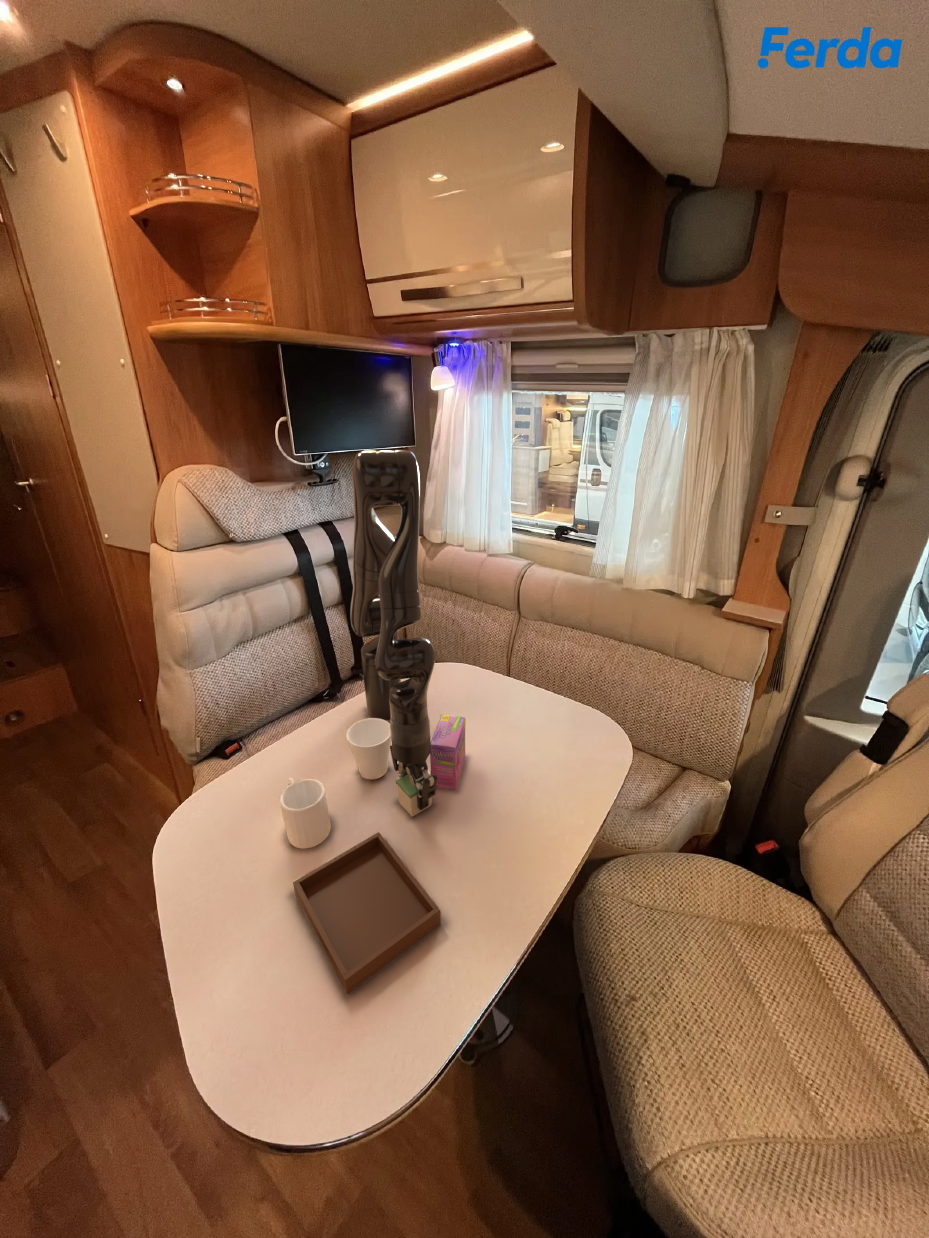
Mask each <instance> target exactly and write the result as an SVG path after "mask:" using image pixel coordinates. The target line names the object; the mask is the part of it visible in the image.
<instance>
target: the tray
mask: <svg viewBox="0 0 929 1238" xmlns="http://www.w3.org/2000/svg"><path fill="white" fill-rule="evenodd" d="M292 886H293V890H294V895H295V897H296V899H297V900H298V903H299V904H300V906H301V908H302V910H303V912H304V914H305V916H306V918H307V920H308V922H309V924H310V926H311V927H312V929H313V931H314V933H315V935H316V937H317V939H318V941H319V943H320V944H321V945H320V946H321V947H322V949H323V950H324V953H325V955H326V956H327V959H328V960H329V962H330V963H331V965H332V968H333V970H334V972H335V973H336V975H337V977H338V979H339V981H340V983H341V985H342V987H343V989H344V991H345V993H346V994H348V995H349V994H350V993H351V992H352V991H353V990H355V989H356V988H357V987H359V986H360V985H361V984H363V983H364V982H366V980H368V979H369V978H371V977H372V976H373V975H375V974H376V973H377V972H378V971H380V970H381V969H382V968H384V967H386V966H387V965H388V964H389V963H390V962H392V961H393V960H394V959H396V958H397V957H398V956H400V955H401V954H402V953H404V952H405V951H407V950H408V949H409V948H410V947H412V946H413V945H414V944H415V943H417V942H418V941H419V940H421V939H422V938H423V937H425V936H426V935H427V934H429V933H430V932H431V931H433V930H434V929H435V928H437V927H438V926H439V925H441V924H442V919H441V909H440V908H439V906H438V905H437V904H436V902H434V900H433V899H432V897H431V896H430V895H429V894H428V893H427V891H426V890H425V889H424V887H423V886H422V885H421V883H420V882H419V881H418V880H417V878H416V877H415V876H414V874H413V873H412V872H411V871H410V869H409V868H408V867H407V865H405V863H404V862H403V860H402V859H401V857H399V855H398V854H397V853H396V852H395V850H394V849H393V848H392V846H391V845H390V844H389V843H388V841H387V840H386V839H385V837H384V836H383V835H382V834H381V832H380V831H377V832H376V833H374V834H372V835H371V836H368V837H367V838H366V839H364V840H362V841H361V842H359V843H357V844H356V845H354V846H352V847H351V848H349V849H347V850H345V851H344V852H342V853H340V854H338V855H337V856H335V857H333V858H331V859H330V860H328V861H326V862H325V863H323V864H321V865H320V866H317V867H316V868H313V870H311V871H309V872H308V873H306V874H304V875H302V876H301V877H299V878H297V879H296V880H293V881H292Z"/></svg>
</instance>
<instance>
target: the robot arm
mask: <svg viewBox="0 0 929 1238" xmlns="http://www.w3.org/2000/svg"><path fill="white" fill-rule="evenodd" d="M351 466H352V467H351V484H352V500H353V501H352V502H353V503H352V504H353V515H354V516H353V519H354V526H353V527H354V529H353V531H354V532H353V545H352V580H353V581H352V583H353V586H352V594H351V601H350V611H349V615H350V625H351V629H352V630H353V632H354V633H355V635H356V636H358V637H361V638H368V637H374V636H375V637H374V638H372V639H370V640H368V641H367V642H366V643H365V644H363V645H362V647H361V649H360V656H361V666H362V673H363V683H364V684H363V685H364V692H365V693H364V694H365V701H366V710H367V711H366V712H367V719H368V718H378V719H383V720H385V721H387V722H388V723H390V730H391V741H390V742H391V744H390V749H389V752H390V755H391V756H390V757H391V761H392V764H393V770H394V771H395V772H398V777H399V779H400V778H401V777H403V776H405V775H407V774H409V776H410V780H411V784H412V786H413V787H415V789H416V793H417V804H418V808H419V810H422V809H424V808H426V807H428V806H429V798H431V797H432V798H433V797H434V796H436V794H437V787H436V786H437V776H436V774H433V775H431V772H429V765H428V763H427V760H428V758H429V757H430V752H431V740H432V738H431V724H430V722H431V721H430V718H429V710H428V708H429V707H428V691H429V686H430V682H431V678H432V676H433V673H434V672H433V671H434V669H435V663H436V651H435V648H434V645H433V643H432V642H431V641H430V640H429V639H427V638H425V637H412V638H403V639H402V638H401V639H399V631H400V630H402V629H404V628H406V627H411V626H413V625H414V626H415V625H416V624H418V623H419V622H420V621H421V619H422V606H421V595H420V582H419V542H420V511H421V510H420V509H421V507H420V505H421V479H420V478H421V477H420V469H419V464H418V460H417V458H416V455H415V454H414V453H413V452H412V451H411V450H408V449H365V450H364V449H363V450H359V451H358V452H356V453H355V455H354V458H353V461H352V465H351ZM394 506H399V507H400V520H399V527H398V529H397V532H396V535H395V536H394V534H393V533H392V532H391V531H390V530H389V528H388V527H387V526H386V525H385V524H384V522H382V521H381V519H380V518H379V517H378V515H377V513H376V511H375V510H374V508H375V507H394ZM402 680H403V681H402ZM422 776H423V778H422V779H420V780H418V781H416V780H417V779H419V778H421V777H422ZM421 785H423V789H422V790H420V786H421ZM428 808H429V807H428ZM426 809H427V808H426Z"/></svg>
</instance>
